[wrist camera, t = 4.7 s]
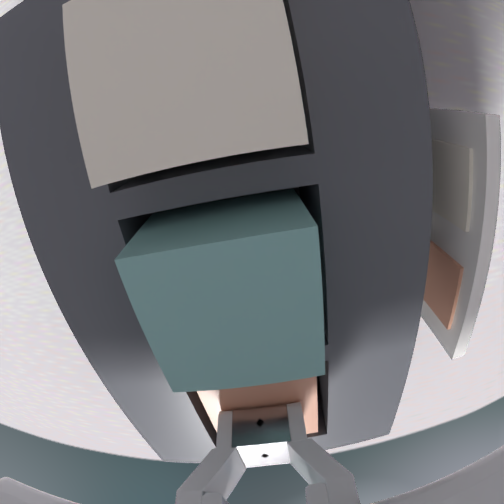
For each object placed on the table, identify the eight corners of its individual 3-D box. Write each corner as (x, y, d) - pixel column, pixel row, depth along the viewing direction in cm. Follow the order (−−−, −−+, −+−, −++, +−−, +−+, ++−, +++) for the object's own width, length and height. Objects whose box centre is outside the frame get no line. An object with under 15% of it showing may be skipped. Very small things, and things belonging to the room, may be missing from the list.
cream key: (260, -2, 6) (268, -54, 3) (285, 134, 8) (309, 144, 5) (116, 32, 6) (62, 5, 3) (140, 163, 8) (91, 188, 5)
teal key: (293, 188, 8) (318, 226, 6) (306, 308, 10) (325, 374, 7) (153, 213, 8) (114, 260, 6) (187, 324, 10) (173, 392, 7)
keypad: (386, -16, 7) (453, -63, 3) (397, 365, 15) (429, 432, 11) (61, 39, 8) (-21, 20, 3) (174, 399, 16) (161, 472, 11)
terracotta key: (302, 317, 12) (316, 371, 9) (307, 381, 14) (317, 431, 11) (203, 331, 12) (194, 386, 9) (224, 392, 14) (222, 443, 11)
